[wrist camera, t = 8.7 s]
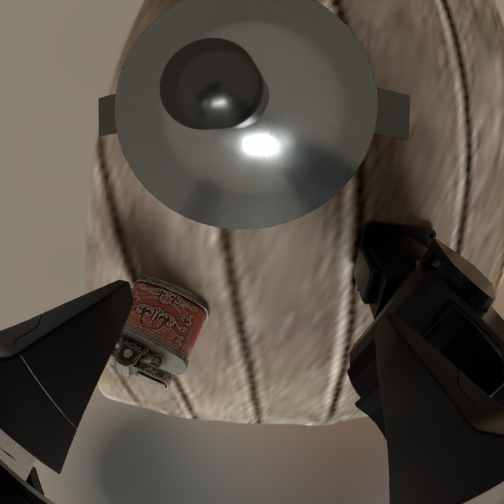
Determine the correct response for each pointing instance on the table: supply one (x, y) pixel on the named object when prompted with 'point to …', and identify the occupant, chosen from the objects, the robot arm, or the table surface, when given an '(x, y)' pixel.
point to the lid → (246, 109)
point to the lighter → (159, 332)
